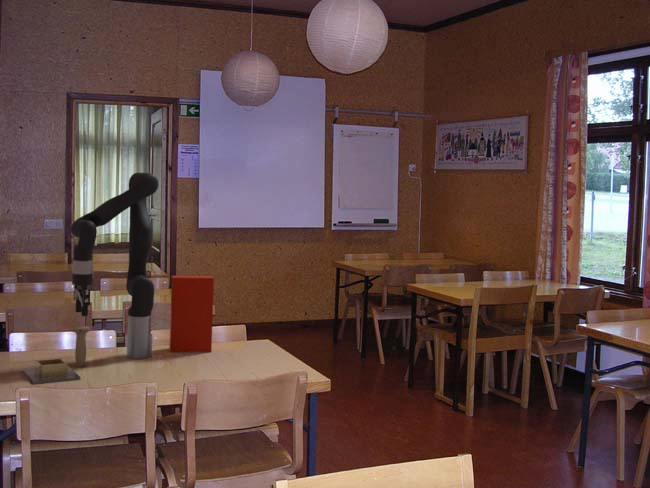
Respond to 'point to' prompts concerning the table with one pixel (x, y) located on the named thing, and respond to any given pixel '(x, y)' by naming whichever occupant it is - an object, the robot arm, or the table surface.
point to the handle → (80, 344)
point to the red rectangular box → (191, 313)
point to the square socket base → (50, 371)
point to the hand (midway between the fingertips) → (81, 314)
